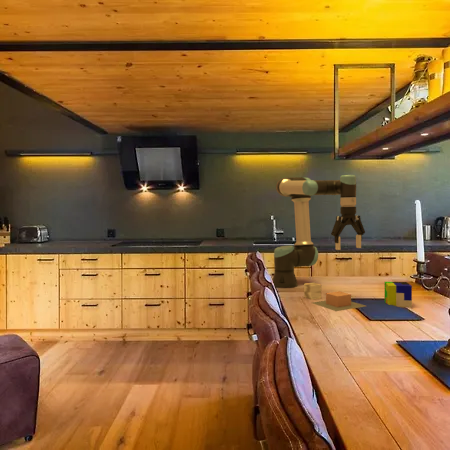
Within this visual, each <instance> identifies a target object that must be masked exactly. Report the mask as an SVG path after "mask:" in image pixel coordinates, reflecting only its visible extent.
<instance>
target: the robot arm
mask: <svg viewBox="0 0 450 450" xmlns="http://www.w3.org/2000/svg"><path fill="white" fill-rule="evenodd" d="M275 189H276V192H277V194H279V195H280V196H282V197H285V198H286V197H289V198H291V202H293V204H294V219H295V220H294V221H295V223H294V224H295V239H296V240H295V243H294V245H282V246H281V245H280V246H278V247H276V248H274V250H273V260H274V262H273V263H274V264H273V266H274V267H273V268H274V269H273V270H274V273H273V276H272V280H273V283H274V285H275V286H276V287H275V288H280V287H290V288H296V287H297V286H298V280H297V277H296V275H295V274H296V273H295V268H300V267H301V268H302V267H308V268H309V267H312V266H314V265H315V264H316V263H317V262H318V260H319V250H318V248H317V247H316V246H314V242H312V239H311V236H312V235H311V222H310V219H311V218H310V207H309V206H310V204H309V201H310V200H312V196H337V195H340V197H339V198H340V206H341V207H339V208H340V214H341V216H339V215H337V216H336V217H335V221H334V225H333V227H332V231H331V232H330V235H331V236H332V237H334V244H335V250H336V251H341V236H340V235H341V234H342V232H343V231H344V228H345V227H346V226H351V227H352V229H354V232H355V233H356V234H355V248H357V249H362V241H363V238H362V237H363V235H364V234H365V233H366V231H365V228H364V225H363V223H362V220H361V219H362V218H361V215H356V214H357V176H356V175H355V174H344V175H343V174H342V175H340V177H339V179H336V180H335V179H333V180H332V179H329V180H328V179H326V180H325V179H322V180H320V179H319V180H318V179H317V180H316V179H314V180H313V179H311V178H310V177H303V176H302V177H299V176H298V177H295V176H294V177H289V176H287V177H283V178H280V179H279V180H278V181H277V183H276V186H275ZM295 286H296V287H295Z"/></svg>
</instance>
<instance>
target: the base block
mask: <svg viewBox="0 0 450 450" xmlns="http://www.w3.org/2000/svg"><path fill="white" fill-rule="evenodd" d="M325 301H326V304H329V305H332V306H335V307H342V306H349V305H351V302H352V294H351V293H347V292H343V291H340V290H339V291H334V292H333V291H331V292H327V293H325Z"/></svg>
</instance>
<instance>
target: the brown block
mask: <svg viewBox="0 0 450 450" xmlns="http://www.w3.org/2000/svg"><path fill="white" fill-rule="evenodd" d="M303 298H305V299H307V300H313V301H314V300H319V299H322V284H320V283H317V282H309V283H304V284H303Z"/></svg>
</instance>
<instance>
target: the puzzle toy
mask: <svg viewBox="0 0 450 450" xmlns="http://www.w3.org/2000/svg"><path fill="white" fill-rule="evenodd" d="M412 289H413V286H412V285H411V284H410V283H408V281H384V303H385V304H387V305H389V306H394V307H398V308H406V309H407V308H413V301H412V300H413V297H412V296H413V295H412V294H413V290H412Z"/></svg>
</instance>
